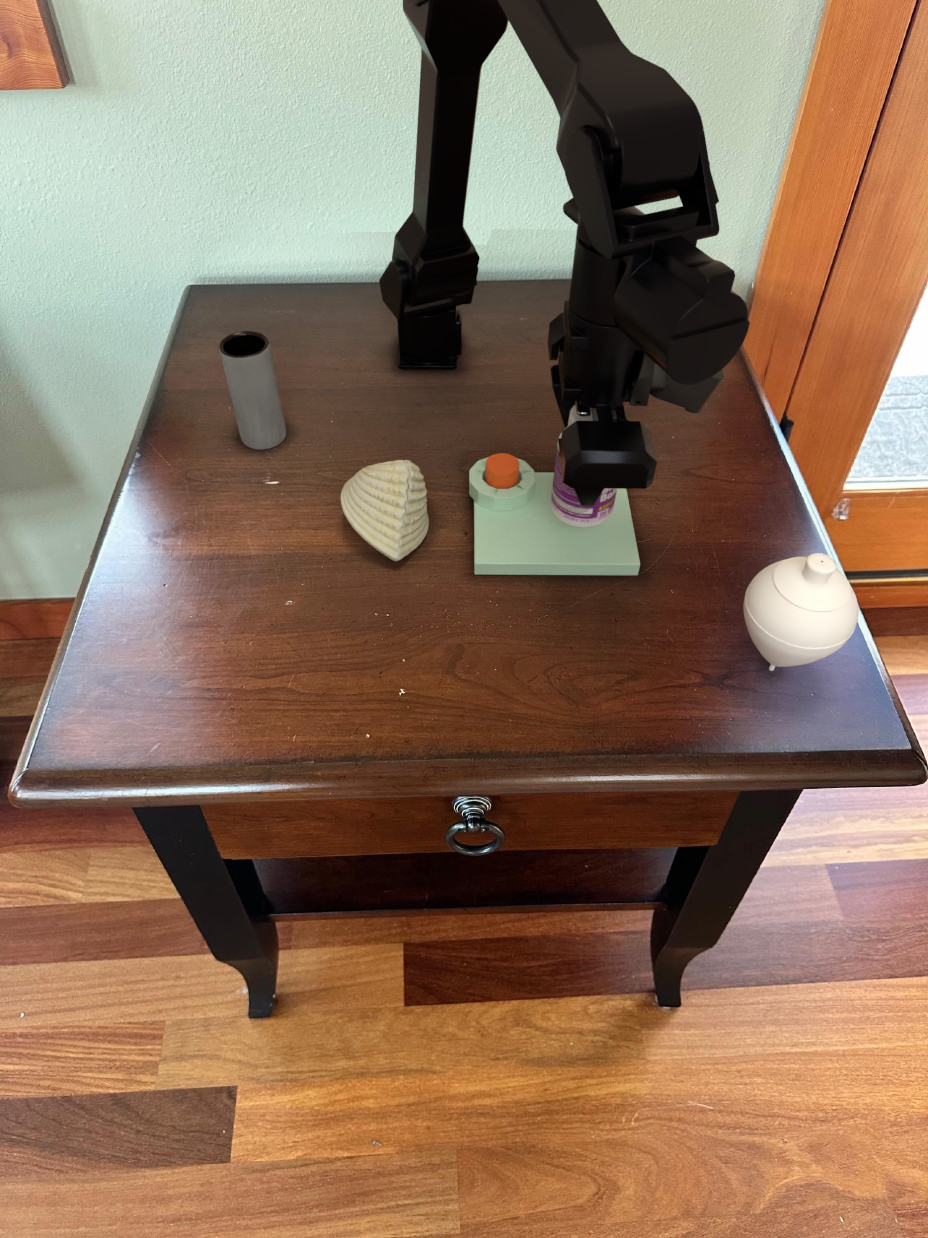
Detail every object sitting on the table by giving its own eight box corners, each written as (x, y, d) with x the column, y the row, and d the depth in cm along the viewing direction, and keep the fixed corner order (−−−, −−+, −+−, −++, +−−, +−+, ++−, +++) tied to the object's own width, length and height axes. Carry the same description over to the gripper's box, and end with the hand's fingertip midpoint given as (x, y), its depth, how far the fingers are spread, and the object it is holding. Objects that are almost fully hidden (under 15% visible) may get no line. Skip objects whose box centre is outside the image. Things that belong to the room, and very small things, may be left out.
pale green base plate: (469, 574, 71) (469, 549, 69) (468, 480, 79) (469, 454, 77) (638, 575, 71) (643, 550, 69) (620, 480, 79) (625, 455, 77)
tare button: (485, 489, 74) (486, 474, 73) (485, 468, 76) (485, 452, 75) (519, 489, 74) (520, 474, 73) (517, 468, 76) (518, 452, 75)
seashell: (426, 460, 78) (457, 471, 70) (409, 549, 79) (438, 568, 72) (342, 444, 74) (366, 453, 67) (326, 537, 76) (347, 555, 69)
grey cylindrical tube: (295, 429, 84) (278, 336, 76) (270, 455, 82) (250, 361, 74) (257, 417, 86) (237, 325, 78) (231, 442, 83) (208, 349, 75)
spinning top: (821, 721, 62) (884, 615, 53) (716, 697, 63) (760, 590, 54) (822, 643, 66) (879, 534, 57) (724, 623, 68) (765, 513, 59)
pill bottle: (610, 534, 69) (628, 440, 62) (546, 525, 70) (556, 430, 62) (615, 492, 72) (633, 397, 65) (554, 483, 73) (565, 389, 66)
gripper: (759, 385, 51) (701, 564, 63) (703, 241, 63) (664, 414, 75) (576, 384, 51) (553, 563, 63) (556, 240, 63) (540, 413, 75)
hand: (583, 481), depth 69 cm, fingers closed on pill bottle, 5 cm apart
